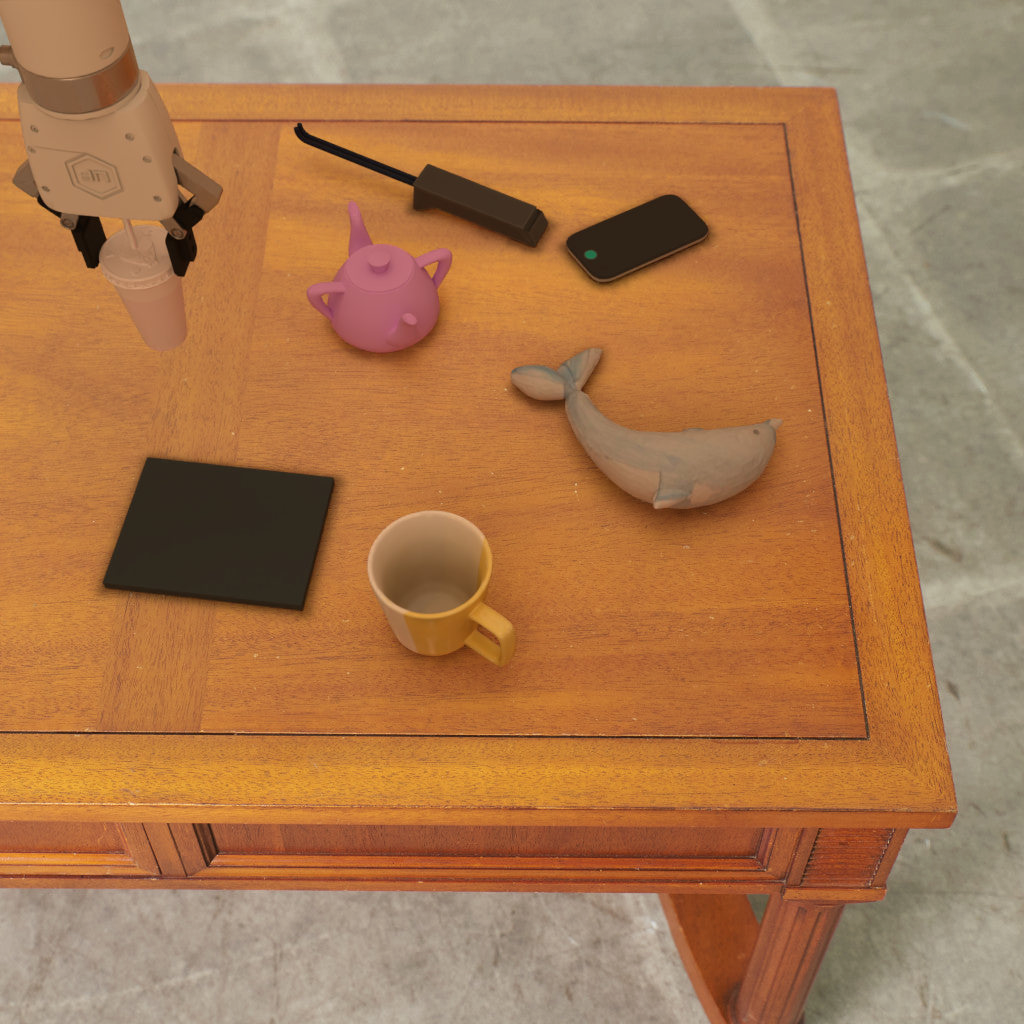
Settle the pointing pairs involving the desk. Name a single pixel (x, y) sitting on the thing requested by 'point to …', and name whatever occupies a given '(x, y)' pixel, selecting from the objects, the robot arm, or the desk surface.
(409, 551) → the mug
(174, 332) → the smoothie
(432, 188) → the hook tool
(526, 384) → the sculpture
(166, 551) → the mat
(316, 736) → the desk surface
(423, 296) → the teapot
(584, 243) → the smartphone
